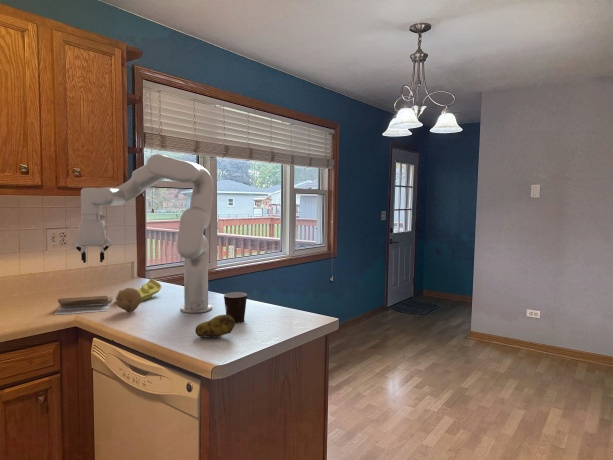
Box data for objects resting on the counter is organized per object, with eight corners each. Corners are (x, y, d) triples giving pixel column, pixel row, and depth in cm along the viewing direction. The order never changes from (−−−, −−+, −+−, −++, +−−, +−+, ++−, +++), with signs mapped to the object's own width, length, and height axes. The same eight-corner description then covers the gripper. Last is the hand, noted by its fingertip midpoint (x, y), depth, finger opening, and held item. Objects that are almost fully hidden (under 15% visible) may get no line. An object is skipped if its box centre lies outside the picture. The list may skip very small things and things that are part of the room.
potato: (209, 331, 149) (208, 308, 148) (239, 337, 143) (239, 313, 142) (192, 338, 142) (191, 314, 141) (223, 345, 136) (222, 320, 135)
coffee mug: (226, 317, 166) (226, 292, 165) (248, 318, 166) (248, 292, 165) (219, 326, 155) (219, 299, 154) (243, 327, 154) (243, 299, 154)
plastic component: (135, 299, 185) (118, 288, 188) (130, 313, 187) (113, 302, 190) (165, 287, 203) (150, 277, 206) (161, 300, 205) (145, 289, 208)
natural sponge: (131, 316, 167) (131, 291, 166) (111, 314, 169) (111, 289, 168) (145, 310, 176) (145, 286, 175) (126, 309, 178) (126, 285, 177)
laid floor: (107, 311, 174) (107, 307, 174) (54, 314, 168) (53, 311, 168) (112, 299, 194) (112, 296, 194) (65, 302, 188) (64, 299, 188)
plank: (107, 298, 178) (107, 295, 179) (57, 301, 172) (58, 298, 173) (109, 303, 185) (109, 300, 186) (61, 306, 179) (62, 303, 180)
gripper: (115, 217, 182) (116, 260, 184) (70, 218, 177) (71, 261, 178) (113, 218, 175) (115, 262, 177) (66, 218, 170) (67, 264, 171)
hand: (93, 261), depth 177 cm, fingers open, 5 cm apart
